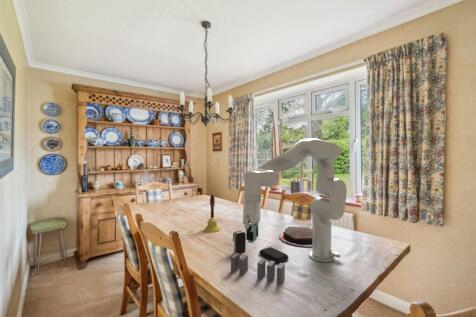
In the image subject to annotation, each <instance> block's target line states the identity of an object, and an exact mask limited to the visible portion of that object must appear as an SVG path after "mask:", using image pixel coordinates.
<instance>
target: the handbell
mask: <svg viewBox="0 0 476 317" xmlns="http://www.w3.org/2000/svg"><path fill="white" fill-rule="evenodd" d="M215 202H216V201H215V195H214V194H211V195H210V198H209V206H210V218H208V220H207V225H206V226H205V228H204V229H203V231H204V232H205V233H209V234H211V233H212V234H213V233H218V232H221V231H222V229H221V227H219V226H218V221H217V219H216V218H215V211H214V210H215V209H214V208H215V205H216V203H215Z"/></svg>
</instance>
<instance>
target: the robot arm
mask: <svg viewBox="0 0 476 317" xmlns="http://www.w3.org/2000/svg"><path fill="white" fill-rule="evenodd" d="M341 152H342V151H341V147H340V146H339V144H338V143H335V142H333V141H332V142H331V141H327V140H324V139H319V138H304V139H300V140H299V141H297V142H296V143H294V144H293V145H292V146H291V147H289V148H288V149H287V150H286V151H284V152H283V153H281V154H280V155H278V156H276V157H274V158H272V159H269V160H268V161H266V162H265V163H263V164H261V166H259V167H258V168H257V169H256V170H246V171H245V172H244V174H243V175H244V178H243V179H244V182H243V183H244V184H243V185H244V188H243V190H244V192H243V194H244V196H243V198H244V199H243V200H244V203H243V211H242V224H243V225H244V229H245V234H246V241H248V240H250V241H253V232H252V231H253V225H254V224H257V229H256V237H257V238H258V237H259V223H260V222H259V221H261V202H262V187H268V188H271V187H272V188H273V187H275V186H277V185H278V183H279V182H280V176H279V174H278V173H279V172H284V171H288V170H291V169H293V168H295V167H297V165H299V163H301V162H302V161H303V160H305V159H306V158H308V157H311V158H312V159H313V160H314V162H315V164H316V167H317V173H316V181H315V191H316V193H317V194H319V195H322V196H326V197H321V196H318V197H315V198H313V199H312V200H311V202H310V212H311V213H310V214H311V218H312V219H311V220H312V223H311V224H312V226H311V227H312V228H311V229H312V247H311V251H309V253H308V255H309V257H310V258H311V259H312V260H314V261H317V262H322V263H331V262H333V261H334V260H335V258H341V253H339V252H338V251H334V250H333V247H332V221H331V220H334V221H339V220H341V219H343V217H344V214H345V210H346V201H347V192H348V188H347V185H346V183H345V181H344V180H342V179H340V178H335V166H334V165H335V164H334V163H333V161H336V160H337V159H338V158H340V156H341ZM327 197H329V198H327ZM249 226H251V228H250V227H249Z"/></svg>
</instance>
